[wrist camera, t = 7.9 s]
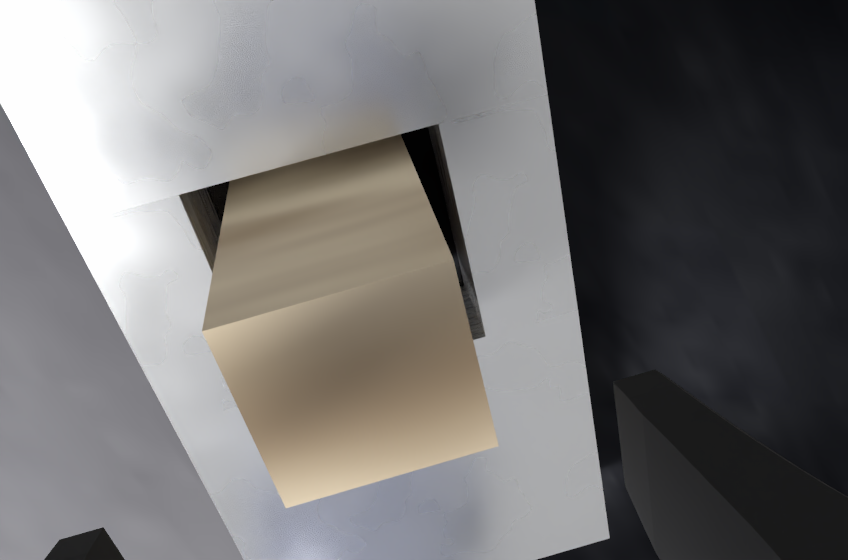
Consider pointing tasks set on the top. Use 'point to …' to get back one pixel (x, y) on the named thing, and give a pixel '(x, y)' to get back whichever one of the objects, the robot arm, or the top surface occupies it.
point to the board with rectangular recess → (294, 142)
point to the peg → (344, 324)
